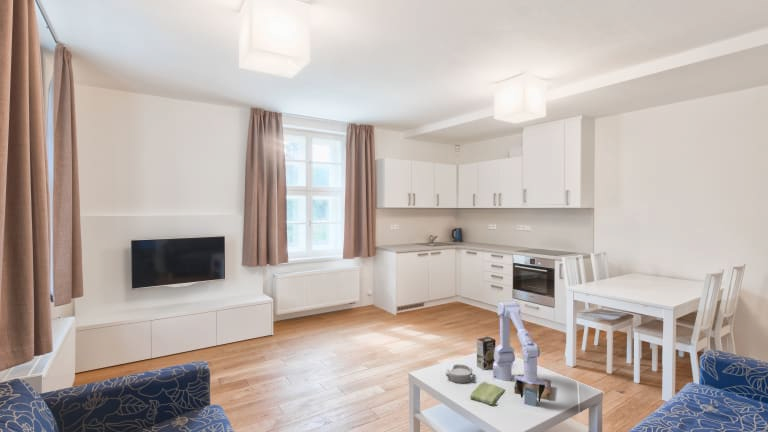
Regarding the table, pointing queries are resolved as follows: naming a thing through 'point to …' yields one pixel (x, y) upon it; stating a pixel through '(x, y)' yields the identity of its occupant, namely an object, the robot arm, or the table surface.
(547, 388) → the walnut crate
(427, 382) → the table surface
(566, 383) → the table surface
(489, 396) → the washcloth
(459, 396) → the table surface
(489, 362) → the coffee box
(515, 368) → the table surface
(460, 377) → the dish
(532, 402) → the slate block
